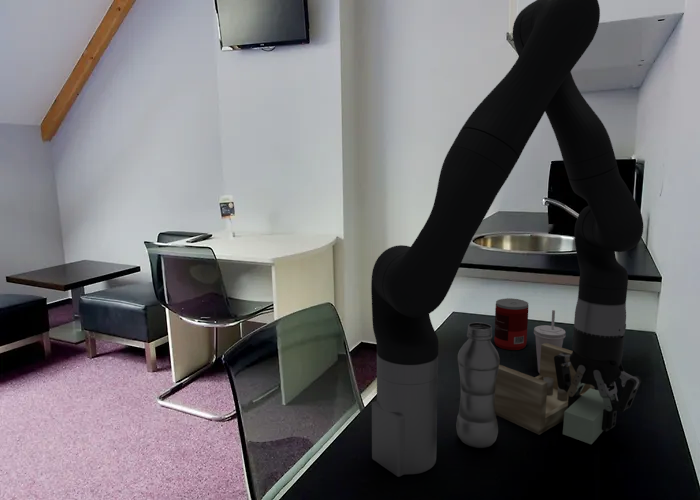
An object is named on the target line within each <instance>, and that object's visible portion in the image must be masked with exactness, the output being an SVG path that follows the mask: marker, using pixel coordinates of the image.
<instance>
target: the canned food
mask: <svg viewBox="0 0 700 500" xmlns="http://www.w3.org/2000/svg"><path fill="white" fill-rule="evenodd" d="M494 310H495V313H494V337H493V338H494V340H493V341H494V344H495V345H494V346H496V347H498V348H500V349H502V350H507V351H519V350H522V349H525V348H526V345H527V343H528V342H527V341H528V327H529V326H528V324H529V323H528V322H529V302H528V301H526V300H524V299H520V298H511V297H510V298H508V297H507V298H500V299H497V300H496V301H495V308H494Z"/></svg>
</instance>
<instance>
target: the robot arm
mask: <svg viewBox="0 0 700 500" xmlns="http://www.w3.org/2000/svg"><path fill="white" fill-rule="evenodd" d="M600 8H601V7H600V4H599V0H535V1H533V2H531V3H529V4H528V5H527V6H525V7H524V8H523V9H521V11H520V12H519V13H518V14H517V16H516V17H515V20H514V23H513V26H512V42H513V45H514V48H515V51H516V53H517V55H518V57H517V59H516V61H515V62H514V64H513V65H512V67H511V68H510V70H509V71H508V72H507V73H506V75H504V77H503V78H502V79H501V80H500V82H499V83H498V84H497V85H495V87H494V88H493V89H492V90H491V91H490V92H488V94H487V96H485V98H484V99H482V101H481V102H480V103H479V104H478V105H477V107H476V108H475V109H474V110H473V111H472V113H471V114H470V115H469V117H468V118H467V120H466V121H465V122H464V124H463V125H462V127H461V128H460V131H459V132H458V134H457V136H456V137H455V139H454V141H453V143H452V145H451V146H450V148H449V149H448V151H447V153H446V155H445V158H444V160H443V162H442V165H441V169H440V172H439V176H438V182H437V186H436V187H437V188H436V193H435V198H434V201H433V206H432V209H431V211H430V213H429V216H428V218H427V220H426V221H425V224H424V225H423V227H422V228H421V230H420V231H419V233H418V235H417V236H416V238H415V240H414V241H413V243H412V245H411V246H409V245H401V244H400V245H394V246H391V247H388V248H387V249H385V250H384V251H383V252H381V254H380V255H378V257H377V259H376V260H375V262H374V264H373V268H372V272H371V284H370V285H371V286H370V291H371V315H372V317H371V318H372V320H371V321H372V330H373V335H374V338H375V342H376V343H375V344H376V400H374V401H373V402H372V403H371V459H372V460H373V461H374V462H376V463H378V464H379V465H380V466H382V467H383V468H385V469H386V470H387V471H389V472H390V473H392V474H393V475H395V476H396V477H398V478H400V477H402V476H404V475H418V474H423V473H425V472H427V471H429V470H431V469H432V468H433V467H434V466H435V464H436V463H437V445H438V444H437V441H438V437H437V434H438V432H437V431H438V384H439V383H438V380H439V379H438V378H439V377H438V375H439V373H438V372H439V337H438V335H437V333H436V331H435V329H434V328H435V327H434V326H433V324H432V321H431V317H430V316H431V315H430V314H431V313H432V312H434V311H435V310H436V309H438V308H439V307H440V305H441V304H442V303H443V302H444V300H445V298H446V297H447V295H448V293H449V292H450V288H451V287H452V285H453V282H454V280H455V278H456V275H457V273H458V272H459V269H460V266H461V264H462V262H463V260H464V257H465V255H466V253H467V251H468V248H469V246H470V245H471V243H472V240H473V238H474V237H475V234H476V233H477V231H478V229H479V228H480V226H481V224H482V223H483V221H484V219H485V217H486V216H487V214H488V212H489V210H490V208H491V206H492V205H493V204H494V202H495V199H496V197H497V196H498V193H499V192H500V190H501V189H502V188H503V186H504V184H505V183H506V181H507V180H508V178H509V176H510V174H511V173H512V171H513V170H514V168H515V166H516V164H517V163H518V160H519V159H520V157H521V156H522V153H523V151H524V150H525V147H526V146H527V145H528V142H529V140H530V138H531V136H532V135H533V133H534V132H535V130H536V129H537V127H538V125H539V123H540V121H541V120H542V118H543V116H544V114H546V116H547V119H548V121H549V123H550V126H551V128H552V130H553V133H554V136H555V139H556V142H557V145H558V148H559V151H560V154H561V158H562V161H563V164H564V168H565V171H566V174H567V178H568V182H569V184H570V187H571V189H572V191H573V193H574V194H576V195H577V196H578V197H580V198H582V199H583V200H584V201H585V202H586V203H587V206H585V207H584V208H583V209H582V210H581V211H580V212H579V214H578V216H577V218H576V221H575V225H574V236H573V237H574V247H575V250H576V251H575V252H576V259H577V263H578V268H579V281H578V294H577V302H576V306H575V311H574V320H573V332H572V345H571V348H572V351H573V352H572V354H571V355H567V354H566V353H561V354H559V355H556V356H555V357H554V363H555V369H556V376H557V382H558V387H559V389H561V390H565V391H566V392H567V393H568V408H569V407H570V406H571V405H572V404H573V403H574V402H575V401H576V400H578V399H579V398H580V397H581V396H582V395H580V393H581V391H582V389H583V387H584V385H585V384H589V385H592V386H594V389H595V388H596V389H597V390H598V391H599V394H600V396H601V397H602V398H603V402H604V406H605V409H604V410H603V420H602V430H604V431H603V432H608V431H610V430H611V429H614V427H615V426H616V424H617V416H618V415H617V413H618V412H619V413H623V412H624V411H626V410H628V409H630V408H631V407H632V405H633V402H634V400H635V397H636V395H637V392H638V390H639V388H640V385H641V383H642V378H641V377H640V376H639V375H635V376H633V375H632V374H629V373H627V372H626V371H625V370H624V367H623V364H622V359H623V355H624V344H625V333H626V330H627V329H626V328H627V294H628V293H627V292H628V284H629V275H628V274H629V273H628V271H627V269H626V268H625V267H624V266H623V265H622V264H620V263H619V262H618V260H617V257H616V253H623V252H628V251H630V250H632V249H634V248H635V247H636V246H637V245H638V244H639V242H640V241H641V239H642V236H643V235H644V234H643V233H644V219H643V215H642V212H641V210H640V207H639V205H638V204H637V201H636V200H635V198H634V196H633V194H632V192H631V191H630V189H629V188H628V185H627V184H626V182H625V181H624V179H623V178H622V175H621V174H620V170H619V167H618V162H617V158H616V155H615V152H614V148H613V143H612V141H611V138H610V135H609V133H608V130H607V128H606V127H605V125H604V123H603V122H602V120H601V119H600V117H599V115H597V114H596V112H595V110H594V109H593V108H592V107H591V105H590V104H589V103H588V102H587V101H586V99H585V98H584V96H583V95H582V93H581V92H580V89H579V88H578V86H577V84H576V82H575V80H574V77H573V75H572V70H573V69H574V67H575V66H576V64H577V63H578V62H579V60H580V59H581V58H582V56H583V55H584V54H585V52H586V51H587V50H588V48H589V47H590V45H591V44H592V42H593V40H594V38H595V36H596V34H597V32H598V28H599V25H600V21H601V20H600V18H601V9H600ZM570 364H572V366H573V368H574V370H575V372H576V374H575V376H574V378H573V379H572V381H571V375H570V368H569V366H570ZM618 379H620V381H621V388H623V389H622V392H621V395H620V397H619V399H618V395H617V394H618V387H617V384H616V381H617V380H618Z"/></svg>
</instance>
